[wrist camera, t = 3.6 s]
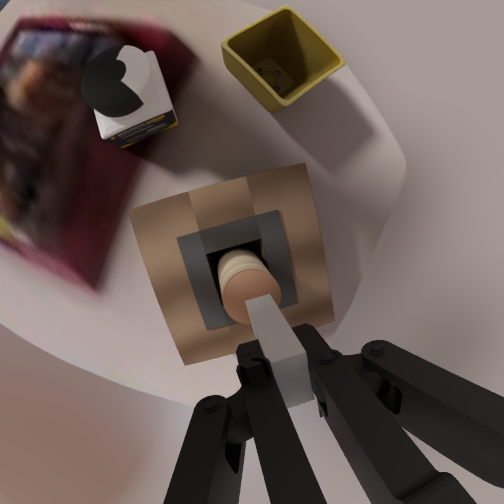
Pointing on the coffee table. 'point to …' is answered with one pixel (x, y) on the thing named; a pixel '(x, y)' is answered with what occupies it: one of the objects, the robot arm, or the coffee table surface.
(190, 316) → the socket block
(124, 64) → the medicine bottle
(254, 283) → the peg
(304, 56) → the flower pot
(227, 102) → the coffee table surface
